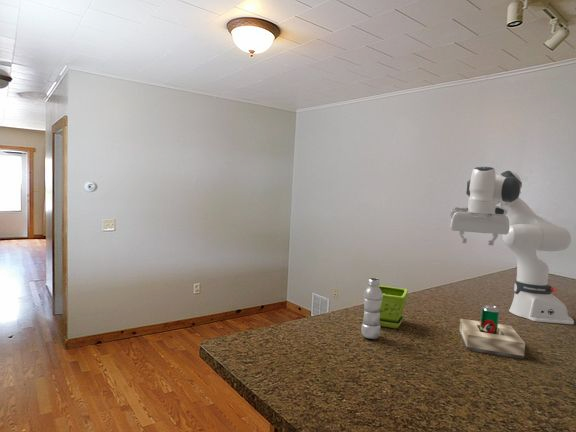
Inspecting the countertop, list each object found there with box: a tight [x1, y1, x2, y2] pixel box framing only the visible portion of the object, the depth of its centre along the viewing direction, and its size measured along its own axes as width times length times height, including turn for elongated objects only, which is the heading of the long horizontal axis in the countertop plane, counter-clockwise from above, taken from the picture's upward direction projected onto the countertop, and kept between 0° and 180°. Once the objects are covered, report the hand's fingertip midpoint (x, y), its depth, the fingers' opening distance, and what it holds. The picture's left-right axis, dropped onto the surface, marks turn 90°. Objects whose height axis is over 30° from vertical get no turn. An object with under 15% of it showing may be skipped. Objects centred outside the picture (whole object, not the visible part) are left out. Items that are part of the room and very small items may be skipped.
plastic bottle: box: [360, 277, 384, 340], centre depth 121 cm, size 6×7×20 cm
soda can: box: [480, 304, 500, 334], centre depth 120 cm, size 5×5×12 cm
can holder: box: [458, 318, 526, 360], centre depth 121 cm, size 16×16×5 cm
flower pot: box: [379, 285, 409, 329], centre depth 136 cm, size 14×14×13 cm
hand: (477, 244), depth 140 cm, fingers open, 8 cm apart
